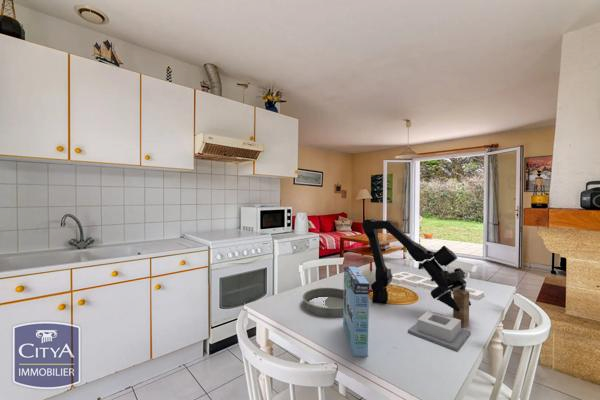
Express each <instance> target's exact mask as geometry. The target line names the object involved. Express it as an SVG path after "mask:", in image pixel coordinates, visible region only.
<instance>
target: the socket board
mask: <svg viewBox="0 0 600 400" xmlns="http://www.w3.org/2000/svg"><path fill="white" fill-rule="evenodd" d="M471 333H472V332H471V330H469V329H465V328H463V327H461V320H459V319H456V318H453V316H449V315H445V314H442V313H439V312H436V311H432V310H428V311H427V312H425V313H424V314H423V315H421V316H420V317H419V318H417V322H416V323H415V324H413V325H412V326H410V327H409V329H408V330H407V334H410V335H412V336H416V337H418V338H419V339H423V340H425V341H429V342H431V343H434V344H437V345H439V346H442V347H445V348H447V349H450V350H452V351H453V352H454V351H455V352H458V351H459V350H460V349H461V347H462V346H463V345H464V343H466V340H467V339H468V338H469V337H470V335H471Z"/></svg>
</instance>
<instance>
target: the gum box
mask: <svg viewBox="0 0 600 400" xmlns="http://www.w3.org/2000/svg"><path fill="white" fill-rule="evenodd" d="M343 269H344V270H343V290H344V302H343V316H342V326H343V330H344V332H345V334H346V335H345V336H346V338H347V341H348V345H349V347H350V352H351V353H352V354H351V355H352V357H357V358H358V357H360V358H362V357H364V358H365V357H366V358H367V357H369V317H370V315H369V314H370V313H369V309H370V306H369V305H370V293H369V282H368V281H367V280H366V279H365V277H364V276H363V275H362V274H361V273H362V272H361V271H360V269H359V268H358V267H357V266H344V267H343Z"/></svg>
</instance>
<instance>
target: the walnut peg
mask: <svg viewBox="0 0 600 400" xmlns="http://www.w3.org/2000/svg"><path fill="white" fill-rule="evenodd" d="M452 298H453V299H454V301H455V302H456V304H457V305H458V307H459V309H460V311H456V310H454V309H453V308H452V309H453V310H452V317H453V318H456V319H459V320H461V328H462V329H465V328H467V327H468V326H469V325H470V306H469V301H470V298H469V291H465V290H461V289H456V290H454V291H453V295H452Z"/></svg>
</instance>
